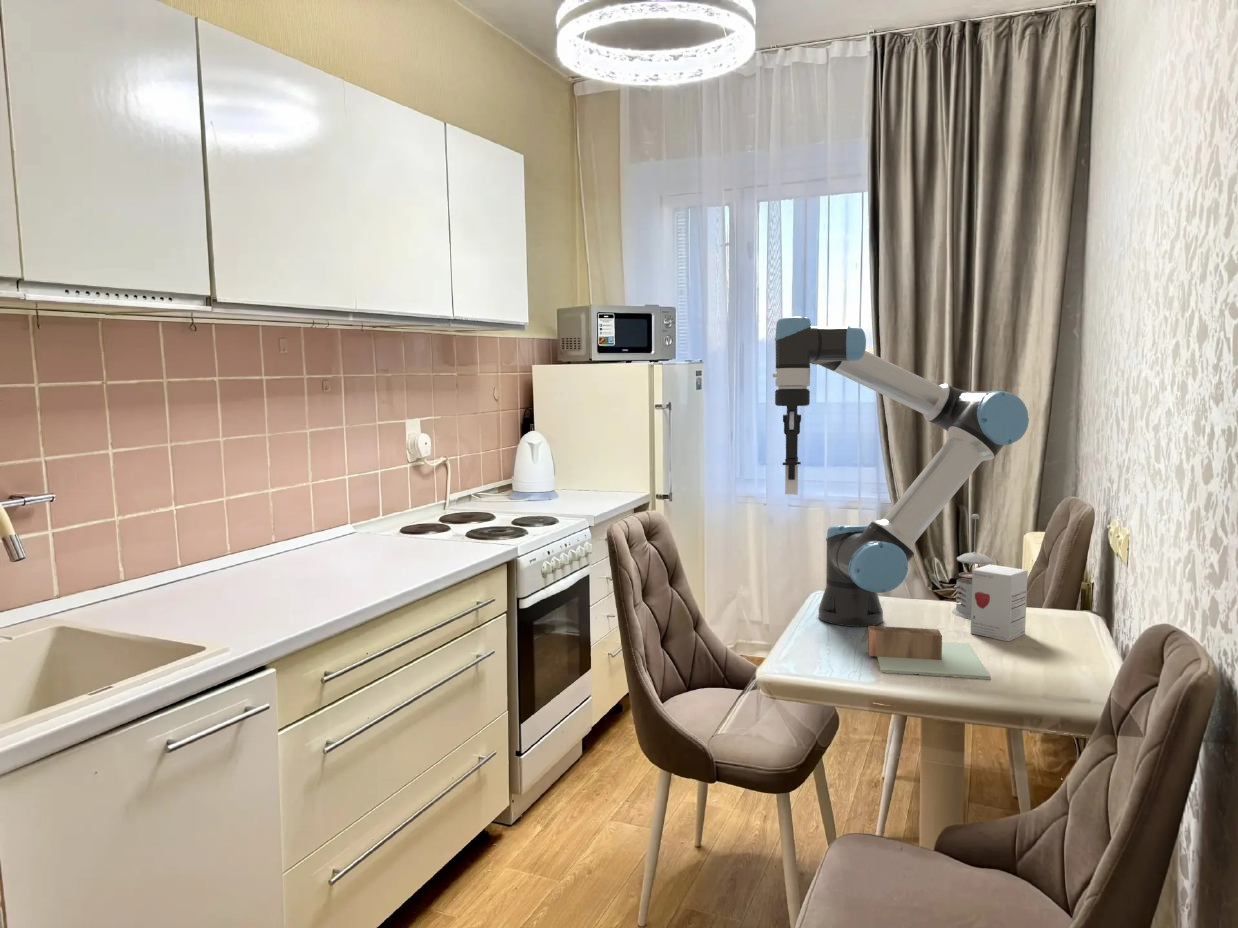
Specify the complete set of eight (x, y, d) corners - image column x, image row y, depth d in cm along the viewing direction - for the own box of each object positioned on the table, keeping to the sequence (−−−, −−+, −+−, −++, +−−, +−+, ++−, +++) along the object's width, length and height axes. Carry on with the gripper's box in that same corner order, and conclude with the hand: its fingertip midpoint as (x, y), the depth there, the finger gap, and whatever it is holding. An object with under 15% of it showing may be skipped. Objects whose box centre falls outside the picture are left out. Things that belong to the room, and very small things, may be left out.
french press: (986, 608, 212) (989, 511, 210) (1003, 621, 201) (1006, 517, 199) (946, 608, 213) (949, 511, 211) (960, 620, 202) (963, 517, 200)
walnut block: (868, 625, 177) (938, 629, 174) (868, 648, 178) (937, 652, 175) (870, 632, 173) (942, 635, 169) (869, 655, 173) (941, 660, 170)
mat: (872, 640, 186) (872, 637, 186) (969, 645, 181) (969, 643, 181) (881, 672, 164) (881, 669, 164) (990, 679, 160) (990, 676, 160)
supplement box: (968, 633, 191) (970, 568, 189) (986, 626, 197) (988, 563, 195) (1009, 642, 184) (1011, 575, 183) (1026, 634, 190) (1028, 569, 189)
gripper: (776, 388, 192) (775, 490, 194) (773, 388, 180) (773, 497, 182) (809, 388, 191) (808, 491, 193) (809, 387, 178) (808, 497, 180)
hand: (791, 493), depth 187 cm, fingers closed
